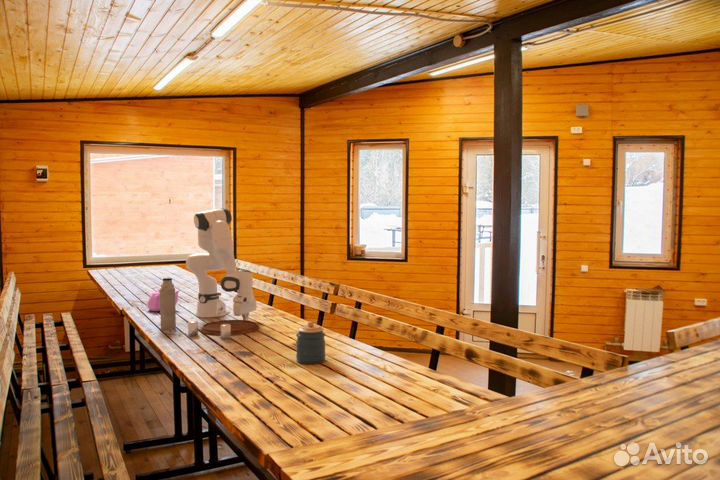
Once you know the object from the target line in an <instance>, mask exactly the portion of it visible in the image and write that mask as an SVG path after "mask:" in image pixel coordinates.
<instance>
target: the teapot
mask: <svg viewBox="0 0 720 480" xmlns="http://www.w3.org/2000/svg"><path fill="white" fill-rule="evenodd" d="M180 291H181V289H180V290H175V305H176V304H177V303H178V301H179V292H180ZM146 306H147V308H148V309H149V311H152V312H160V288H158V291H154V292H152V293H151V295H150V297H149V299H148V300H147V305H146Z"/></svg>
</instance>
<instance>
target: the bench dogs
mask: <svg viewBox="0 0 720 480" xmlns="http://www.w3.org/2000/svg"><path fill="white" fill-rule="evenodd" d="M187 336H188V337H197V336H199V321H197V320H194V321H193V320H191V321H188V322H187ZM231 337H232V336H231V325H230V324H222V325H221V336H220V339H221V340H230V339H231Z"/></svg>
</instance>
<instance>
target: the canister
mask: <svg viewBox="0 0 720 480" xmlns="http://www.w3.org/2000/svg"><path fill="white" fill-rule="evenodd" d="M297 331H298V332H297V333H296V334H295V335H296V337H297V338H296V342H295V344H296V355H295V358H296V362H297V363H299V364H303V365H318V364H322V363H324V362H325V361H326V358H327V356H326V339H325V337H326V335H327V334H326V332H324V328H323V327H321V325H318V324H315V323H314V321H308V323H307V324H304V325H301V326H300V327H299V328H297Z"/></svg>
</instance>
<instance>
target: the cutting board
mask: <svg viewBox="0 0 720 480" xmlns="http://www.w3.org/2000/svg"><path fill="white" fill-rule="evenodd" d="M222 324H230V325H231V337H232V336H233V337H234V336H242V335H247V334H251V333H255V332H257V331H259V330H260V325H258V323H257V322H255V321H253V320H243V319H224V320H217V321H211V322H207V323H205V324H203V325H202V327H201V328H200V329H199V331H200V333H201V334H204V335H207V336H217V337H218V336H219V337H221V325H222ZM258 329H259V330H258Z"/></svg>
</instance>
